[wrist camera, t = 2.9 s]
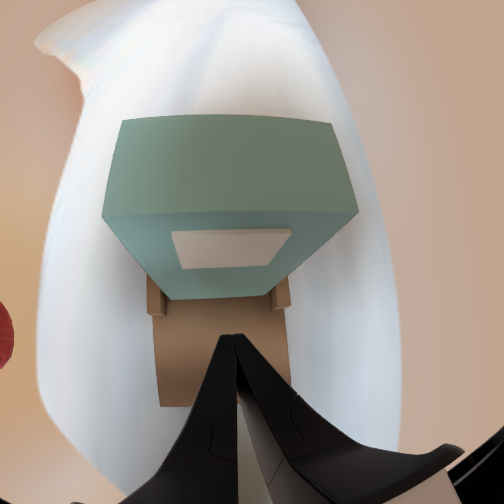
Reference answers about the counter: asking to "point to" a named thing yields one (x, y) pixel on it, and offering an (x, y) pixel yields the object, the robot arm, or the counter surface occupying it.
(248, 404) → the robot arm
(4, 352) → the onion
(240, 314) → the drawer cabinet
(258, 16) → the counter surface
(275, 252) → the green rectangular block
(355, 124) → the counter surface
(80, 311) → the counter surface
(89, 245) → the counter surface
